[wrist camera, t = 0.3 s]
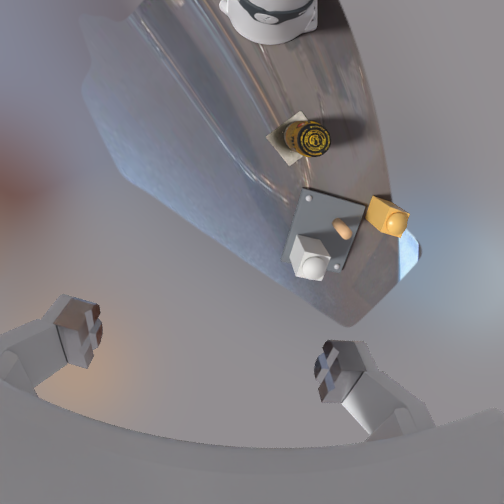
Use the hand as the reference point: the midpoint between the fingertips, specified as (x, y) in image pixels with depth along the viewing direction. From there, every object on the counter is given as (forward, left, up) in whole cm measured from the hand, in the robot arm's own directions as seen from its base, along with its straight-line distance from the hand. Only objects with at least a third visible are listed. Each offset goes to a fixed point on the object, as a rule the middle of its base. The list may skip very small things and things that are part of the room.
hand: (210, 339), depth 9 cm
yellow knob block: (+2, +32, -47) cm, 57 cm away
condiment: (-7, +10, -47) cm, 49 cm away
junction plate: (+10, +21, -47) cm, 52 cm away
